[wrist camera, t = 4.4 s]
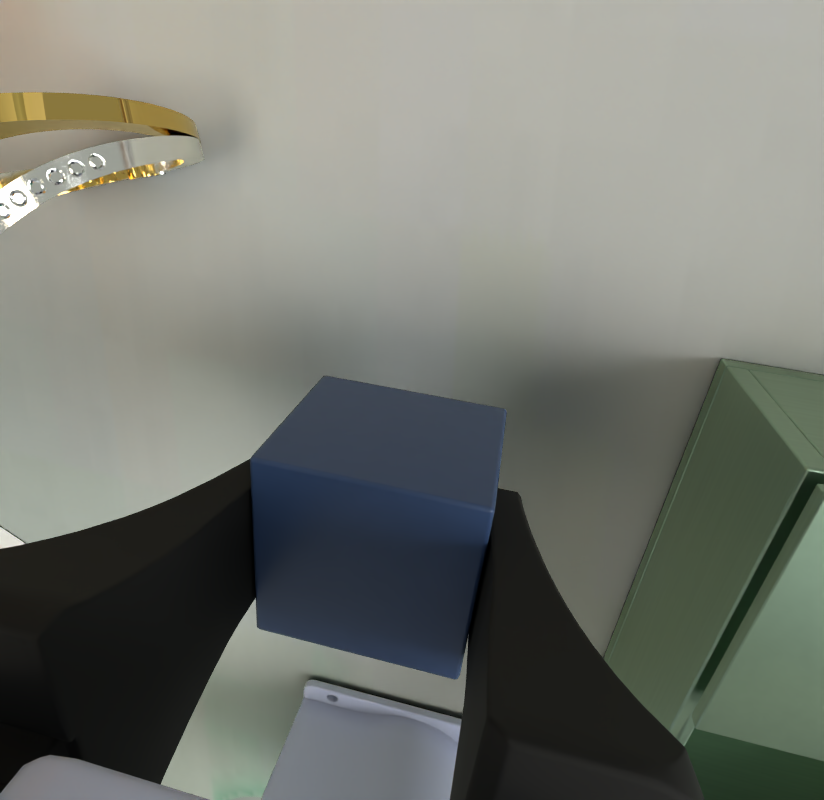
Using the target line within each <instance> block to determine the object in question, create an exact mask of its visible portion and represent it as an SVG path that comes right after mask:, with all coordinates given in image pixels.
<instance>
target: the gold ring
mask: <svg viewBox="0 0 824 800" xmlns="http://www.w3.org/2000/svg"><path fill="white" fill-rule="evenodd" d="M68 129H101V130H116V131H126V132H134V133H140V134H146V135H151V136H155V137H144V138H136V139H129V140H123V141H117V142H112V143H107V144H103V145H98V146H94V147H91V148H87V149H83V150H80V151H77V152H74V153H71V154H68V155H65V156H63V157H60V158H57V159H55V160H52V161H50V162H48V163H46V164H44V165H41V166H39V167H37V168H35V169H28V170H21V171H13V172H5V173H0V234H1V233H2V232H3V231H5V230H6V229H7V228H8V227H10V226H11V225H12V224H13V223H15V222H16V221H17V220H19V219H20V218H21V217H23V216H24V215H26V214H27V213H28V212H30V211H31V210H33V209H34V208H36V207H38V206H39V205H41V204H42V203H44V202H46V201H48V200H49V199H51V198H53V197H55V196H59V195H62V194H67V193H71V192H75V191H79V190H83V189H87V188H92V187H96V186H100V185H105V184H109V183H114V182H118V181H123V180H128V179H130V180H132V179H138V178H146V177H152V176H157V175H162V174H166V172H168V171H172V170H176V169H180V168H184V167H187V166H191V165H194V164H197V163H200V162H202V161H204V156H203V152H202V148H201V141H200V138H199V135H198V131H197V128H196V124H195V123H194V121H193V120H192V119H190V118H189V117H187V116H185V115H183V114H181V113H179V112H176V111H174V110H171V109H168V108H164V107H161V106H157V105H153V104H149V103H144V102H139V101H134V100H128V99H122V98H115V97H107V96H97V95H86V94H71V93H40V92H28V93H0V139H4V138H8V137H13V136H17V135H23V134H29V133H35V132H43V131H53V130H68Z"/></svg>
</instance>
